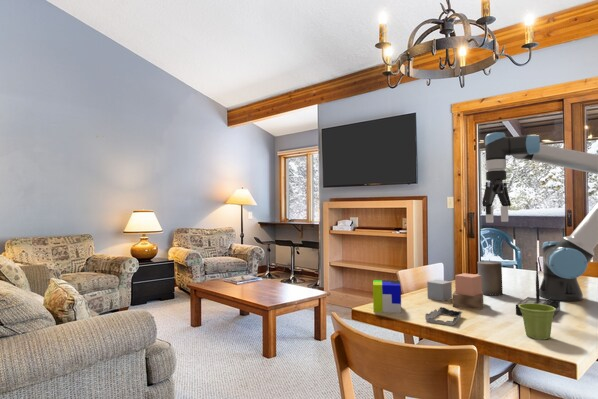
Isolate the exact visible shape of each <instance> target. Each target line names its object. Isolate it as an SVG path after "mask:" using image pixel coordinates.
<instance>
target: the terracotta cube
mask: <svg viewBox="0 0 598 399" xmlns="http://www.w3.org/2000/svg"><path fill="white" fill-rule="evenodd" d="M454 282H455V291H456V294H462V295H469V296H475V295H479V294H482V280H481V275H478V274H473V273H465V272H463V273H460V274H455V275H454Z"/></svg>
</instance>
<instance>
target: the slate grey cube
mask: <svg viewBox="0 0 598 399" xmlns="http://www.w3.org/2000/svg"><path fill="white" fill-rule="evenodd" d="M426 283H427V286H426V289H427V299H429V300H430V299H431V300H435V301H440V302H445V301H448V300H452V299H453V294H452V293H453V290H452V289H453V288H452V285H453V284H452V283H453V282H452V281H448V280H441V279H433V280H429V281H427V282H426ZM451 298H452V299H451Z"/></svg>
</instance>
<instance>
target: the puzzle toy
mask: <svg viewBox="0 0 598 399" xmlns="http://www.w3.org/2000/svg"><path fill="white" fill-rule="evenodd" d="M401 286H402V285H401V282H400V280H394V279H392V280H390V279H389V280H386V279H381V280H380V279H378V280H377V279H374V280H373V282H372V300H373V301H372V302H373V303H372V304H373V305H372V308H373V313H374V312H375V313H395V314H396V313H399V314H401V313H402V287H401Z"/></svg>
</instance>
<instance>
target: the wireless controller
mask: <svg viewBox="0 0 598 399" xmlns="http://www.w3.org/2000/svg"><path fill="white" fill-rule="evenodd" d="M535 271H536V272H535V273H536V274H535V297H531V296H528V297H526V298H524V299H522V300H521V301H520V302H518V303H517V304H515V316H516V315H517V316H522V313H521V310H520V308H519V305H520V304H526V303H533V304H542V305H548V306H552V307H554V308H556V311H554V315H553V318H554V317H555V316H557V314H559V312H561V300H553V299H548V298H545V299H544V298H540V297H541V296H540V294H539V289H540V279H539V265H538V261H536V262H535Z"/></svg>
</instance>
